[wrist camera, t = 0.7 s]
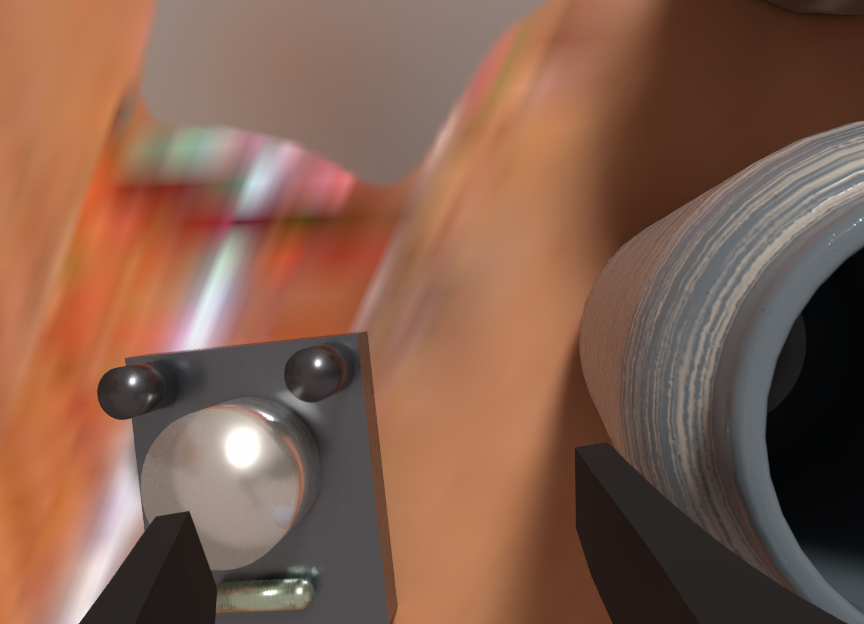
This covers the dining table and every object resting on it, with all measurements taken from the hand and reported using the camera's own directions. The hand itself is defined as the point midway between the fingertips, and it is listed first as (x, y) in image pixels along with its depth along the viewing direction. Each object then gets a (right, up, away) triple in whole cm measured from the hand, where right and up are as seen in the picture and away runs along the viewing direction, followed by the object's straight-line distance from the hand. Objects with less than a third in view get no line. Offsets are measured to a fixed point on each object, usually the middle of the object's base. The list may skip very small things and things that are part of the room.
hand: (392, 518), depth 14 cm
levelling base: (-8, -5, +24) cm, 26 cm away
